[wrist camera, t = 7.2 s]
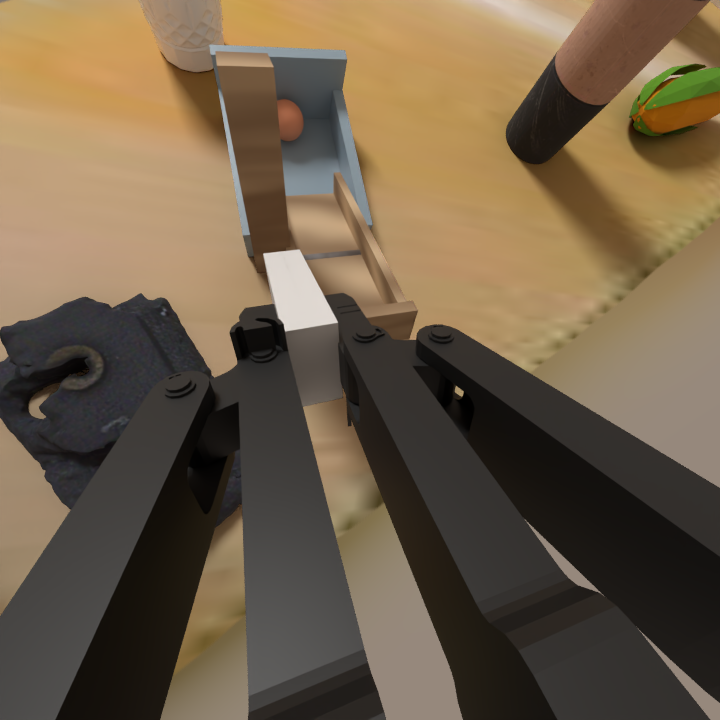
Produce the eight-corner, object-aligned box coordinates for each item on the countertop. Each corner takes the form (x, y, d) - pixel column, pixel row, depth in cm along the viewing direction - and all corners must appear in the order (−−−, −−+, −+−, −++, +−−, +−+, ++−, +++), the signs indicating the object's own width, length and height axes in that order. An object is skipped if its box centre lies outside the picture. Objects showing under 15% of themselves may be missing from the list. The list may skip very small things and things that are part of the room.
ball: (259, 100, 32) (262, 128, 36) (283, 129, 32) (284, 155, 36) (288, 83, 33) (288, 113, 36) (311, 112, 33) (309, 139, 37)
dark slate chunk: (113, 595, 27) (76, 631, 22) (-22, 364, 28) (-84, 353, 23) (281, 480, 31) (280, 490, 26) (158, 280, 32) (136, 257, 27)
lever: (413, 348, 22) (483, 134, 12) (273, 372, 20) (224, 139, 10) (344, 204, 32) (352, 26, 22) (248, 210, 30) (211, 17, 20)
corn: (663, 51, 40) (767, 37, 45) (604, 105, 48) (699, 88, 52) (686, 108, 40) (788, 88, 45) (623, 153, 47) (716, 132, 52)
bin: (364, 245, 36) (380, 205, 29) (248, 256, 33) (237, 215, 27) (335, 115, 38) (344, 50, 32) (224, 115, 36) (209, 44, 29)
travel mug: (509, 165, 42) (694, -50, 23) (498, 112, 43) (665, -136, 24) (561, 167, 44) (773, -32, 25) (549, 116, 45) (743, -113, 26)
